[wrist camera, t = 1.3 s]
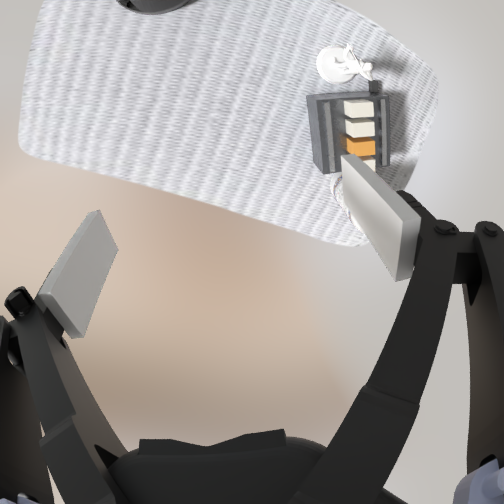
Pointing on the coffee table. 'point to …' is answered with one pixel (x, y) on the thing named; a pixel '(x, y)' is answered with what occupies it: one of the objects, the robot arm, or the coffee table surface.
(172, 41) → the coffee table surface
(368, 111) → the cream rectangular block
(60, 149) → the coffee table surface
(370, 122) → the paddle
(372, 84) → the dark grey slat
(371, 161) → the cream small block
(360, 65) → the figurine
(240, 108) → the coffee table surface
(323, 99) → the breaker panel
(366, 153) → the paddle
